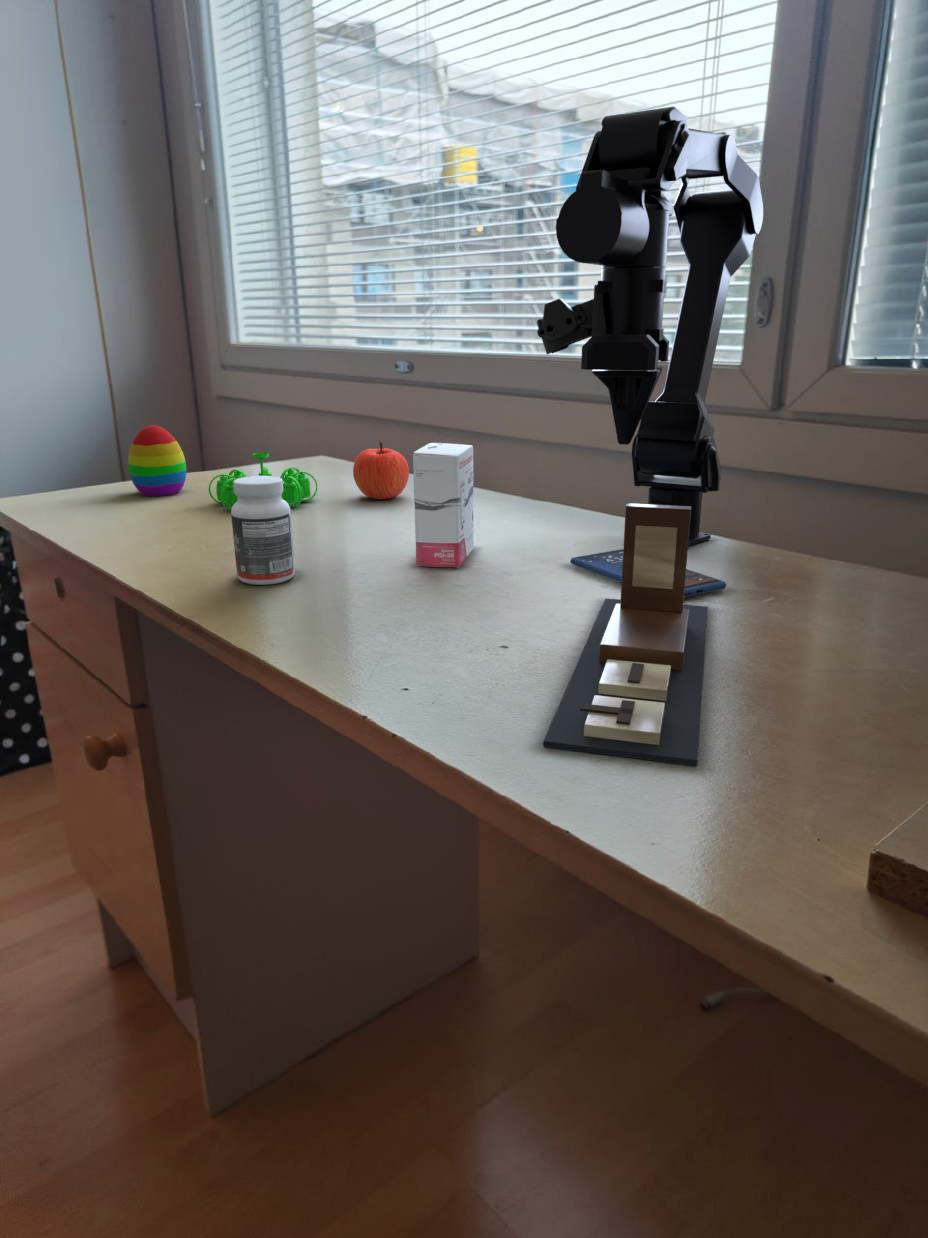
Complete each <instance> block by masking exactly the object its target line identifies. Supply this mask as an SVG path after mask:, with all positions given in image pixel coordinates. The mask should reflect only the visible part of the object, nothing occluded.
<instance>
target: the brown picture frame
mask: <svg viewBox="0 0 928 1238" xmlns="http://www.w3.org/2000/svg"><path fill="white" fill-rule="evenodd" d="M624 513H625V516H624V531H623V532H624V533H623V548H622V549H623V565H622V583H620V600H621V601H620V604H615V607H614V610H613V612H612V615H611V617H610V620H609V622H608V625H607V628H606V630H605V633H604V635H603V638H602V641H601V643H600V650H599V663H605V664H606V662H607V659H609V660H620V661H630V662H640V663H650V664H661V665H670V666H671V670H676V671H682V669H683V661H684V653H685V645H686V637H687V629H688V619H689V609H683V605H684V602H685V597H684V591H685V579H686V569H687V566H688V553H689V545H688V542H689V529H690V517H691V506H672V505H651V504H647V503H630V502H629V503H627V504H626V505H625V512H624Z"/></svg>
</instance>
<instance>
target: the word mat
mask: <svg viewBox="0 0 928 1238" xmlns="http://www.w3.org/2000/svg"><path fill="white" fill-rule="evenodd" d="M620 601H621V599H618V598H617V599H616V598H605V599H604V601H603V604H602V606H601V607H600V611H599V613H598V615H597V617H596V619H595V622H594V624H593V626H592V628H591V631H590V633H589V636H588V637H587V640H586V642H585V645H584V647H583V650H582V652H581V654H580V656H579V659H578V661H577V663H576V666H575V668H574V670H573V672H572V674H571V677H570V680H569V682H568V684H567V686H566V688H565V691H564V693H563V696H562V698H561V700H560V702H559V705H558V707H557V709H556V712H555V714H554V716H553V718H552V721H551V723H550V725H549V727H548V729H547V732H546V735H545V737H544V739H543V743H542V744H543V745H542V746H543V747H545V748H551V749H559V750H565V751H566V750H567V751H575V752H583V753H590V754H599V755H605V756H606V755H607V756H613V757H614V756H615V757H622V758H631V759H637V760H646V761H654V762H661V763H669V764H676V765H677V764H678V765H684V766H685V765H687V766H693V767H697V766H698V758H699V757H698V756H699V743H700V742H699V741H700V728H701V727H700V726H701V716H702V715H701V713H702V712H701V711H702V699H703V685H704V684H703V682H704V671H705V653H706V641H707V640H706V639H707V625H708V612H709V611H708V610H709V606H708V605H695V604H694V605H693V604H683V609H689V619H688V629H687V637H686V645H685V653H684V661H683V669H682V671H676V670H671V666H670V665H661V664H650V663H640V662H630V661H620V660H609V659H607V662H606V664H605V663H599V650H600V643H601V641H602V638H603V635H604V633H605V630H606V628H607V625H608V622H609V620H610V617H611V615H612V612H613V610H614V607H615V604H620Z"/></svg>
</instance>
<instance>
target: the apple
mask: <svg viewBox="0 0 928 1238" xmlns="http://www.w3.org/2000/svg"><path fill="white" fill-rule="evenodd" d="M352 475H353V479H354V482H355V485H356V486H357V488H358V490H359V491H360V492H361V493H362V494H363V495H364V496H365V497H368V498H372V499H374V500H387V499H393V498H396V497H398V496H399V495H400V494H401V493H402V492H403V491H404V490H405V488H406V487H407V484H408V481H409V477H410V468H409V465H408V462H407V459H406V458H405V456H404V455H402V453H400V452H399V451H396V450H394V449H391V448H386V447H383V442H382V441H379V448H366V449H363V450H361V452H359V454H357V456H356V458H355V460H354V463H353V466H352Z"/></svg>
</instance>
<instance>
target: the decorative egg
mask: <svg viewBox="0 0 928 1238" xmlns="http://www.w3.org/2000/svg"><path fill="white" fill-rule="evenodd" d="M127 467H128V474H129V477H130V479H131V482H132V484H133V486H134V487H135V488H136V490H137V491H138V492H139V493H140V494H141V495H143V496H147V497H163V496H173V495H175V494H179V492H181V490H182V489H183V487H184V485H185V483H186V480H187V471H188V470H187V463H186V458H185V455H184V452H183V449H182V448H181V446H180V444H179V442H178V441H177V439H176V438H175V437H174V436H173V435H172V434H171V433H170V432H169V431H168V430H166V428H164V427H162V426H160V425H156V424H155V425H153V424H152V425H151V424H150V425H148V426H145V427H143V428H142V429H141V430H139V432H138V433H137V434H136V436H135V437H134V439H133V441H132V442H131V445H130V448H129V451H128V459H127Z"/></svg>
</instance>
